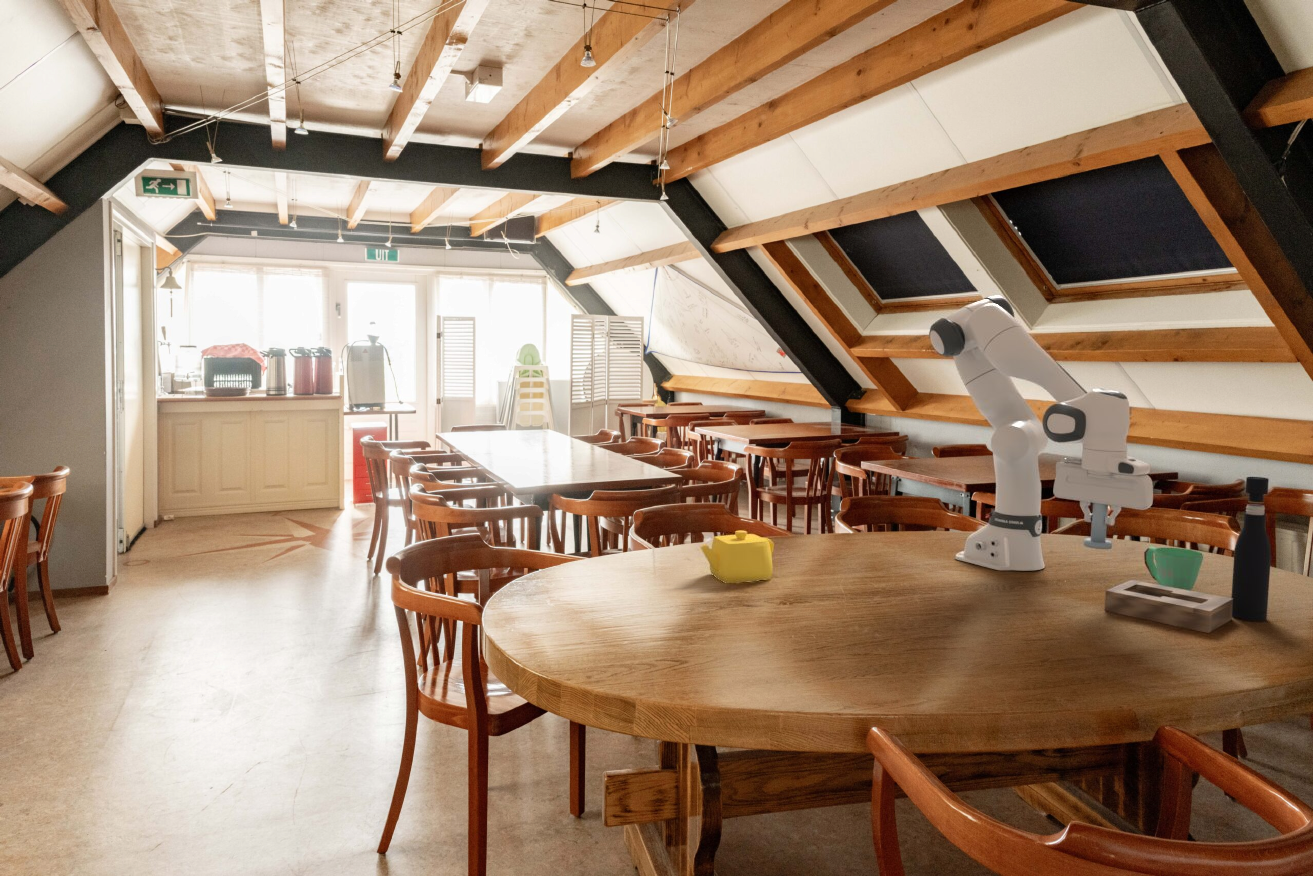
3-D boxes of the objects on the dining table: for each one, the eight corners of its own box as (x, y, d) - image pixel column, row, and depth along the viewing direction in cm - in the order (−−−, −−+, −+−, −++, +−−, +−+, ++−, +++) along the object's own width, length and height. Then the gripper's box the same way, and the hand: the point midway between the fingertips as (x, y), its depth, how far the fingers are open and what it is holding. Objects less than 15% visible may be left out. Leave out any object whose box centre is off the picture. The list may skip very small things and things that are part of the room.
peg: (1079, 545, 192) (1082, 493, 190) (1090, 542, 195) (1094, 490, 194) (1104, 550, 187) (1108, 497, 186) (1115, 547, 191) (1119, 494, 190)
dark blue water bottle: (1256, 623, 177) (1265, 480, 174) (1223, 615, 182) (1232, 477, 180) (1273, 619, 180) (1282, 478, 177) (1240, 611, 185) (1249, 475, 183)
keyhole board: (1104, 610, 186) (1105, 590, 185) (1130, 599, 195) (1131, 579, 194) (1208, 633, 171) (1210, 611, 170) (1231, 619, 180) (1233, 598, 179)
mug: (1211, 598, 195) (1214, 555, 194) (1174, 600, 193) (1177, 557, 192) (1162, 582, 210) (1164, 542, 209) (1127, 584, 208) (1129, 544, 207)
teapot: (709, 587, 205) (710, 539, 204) (691, 574, 217) (691, 529, 216) (784, 580, 212) (784, 533, 211) (762, 568, 223) (762, 524, 222)
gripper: (1050, 457, 195) (1046, 517, 196) (1147, 468, 179) (1142, 532, 181) (1062, 456, 199) (1058, 514, 200) (1158, 466, 184) (1153, 529, 185)
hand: (1099, 523), depth 191 cm, fingers closed on peg, 3 cm apart
